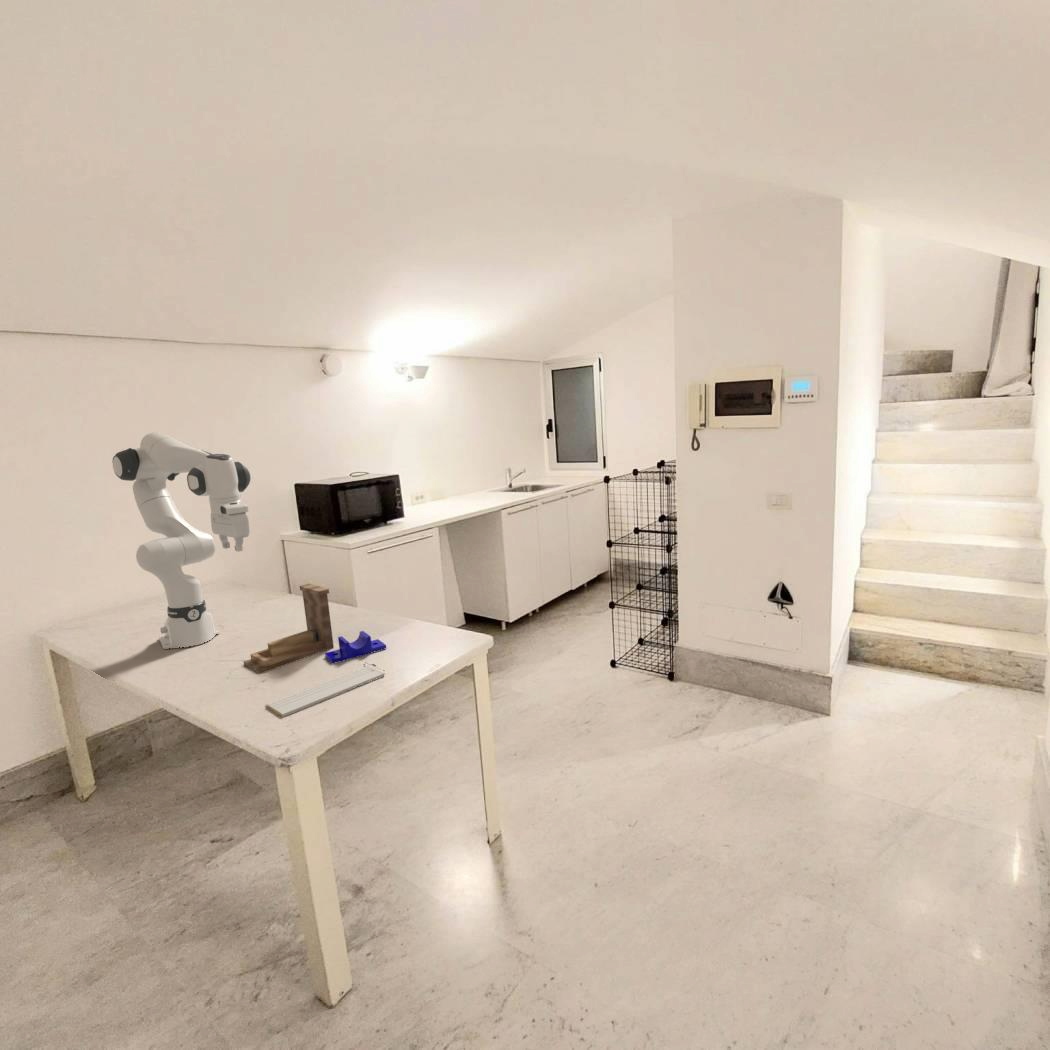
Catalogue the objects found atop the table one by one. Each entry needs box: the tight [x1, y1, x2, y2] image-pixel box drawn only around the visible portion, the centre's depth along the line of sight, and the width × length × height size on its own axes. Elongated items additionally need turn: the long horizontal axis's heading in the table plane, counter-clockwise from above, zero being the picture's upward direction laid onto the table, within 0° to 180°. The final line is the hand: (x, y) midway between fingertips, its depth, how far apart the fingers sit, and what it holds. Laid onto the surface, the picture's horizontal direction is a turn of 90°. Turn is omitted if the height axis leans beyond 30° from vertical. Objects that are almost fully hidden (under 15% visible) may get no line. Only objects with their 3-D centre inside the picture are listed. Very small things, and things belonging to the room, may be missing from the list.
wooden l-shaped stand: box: [243, 583, 335, 674], centre depth 196 cm, size 13×26×20 cm, turn 138°
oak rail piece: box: [266, 629, 317, 658], centre depth 198 cm, size 4×15×5 cm, turn 138°
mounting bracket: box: [324, 630, 387, 664], centre depth 196 cm, size 18×7×6 cm, turn 125°
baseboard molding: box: [265, 661, 386, 718], centre depth 170 cm, size 31×3×12 cm
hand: (232, 549), depth 189 cm, fingers open, 8 cm apart
